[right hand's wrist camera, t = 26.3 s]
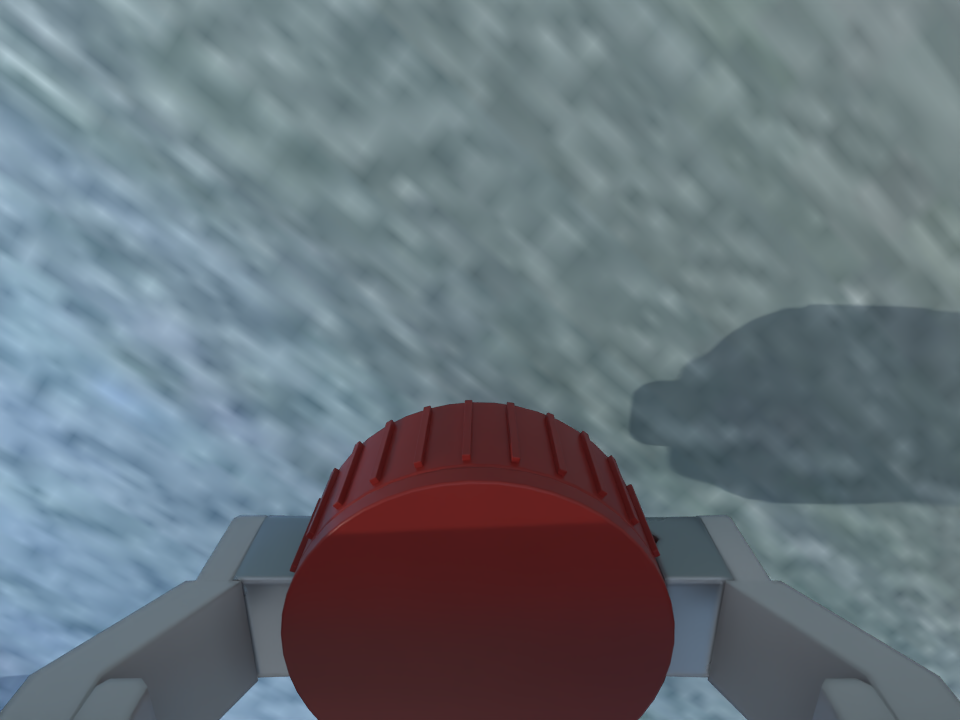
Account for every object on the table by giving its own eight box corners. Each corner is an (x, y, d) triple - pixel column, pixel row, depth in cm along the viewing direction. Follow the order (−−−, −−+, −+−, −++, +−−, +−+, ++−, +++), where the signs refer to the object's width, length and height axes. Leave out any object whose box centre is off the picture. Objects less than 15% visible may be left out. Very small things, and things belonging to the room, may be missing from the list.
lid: (502, 326, 9) (509, 389, 7) (704, 560, 11) (758, 670, 9) (246, 525, 10) (188, 629, 8) (460, 708, 12) (455, 835, 10)
